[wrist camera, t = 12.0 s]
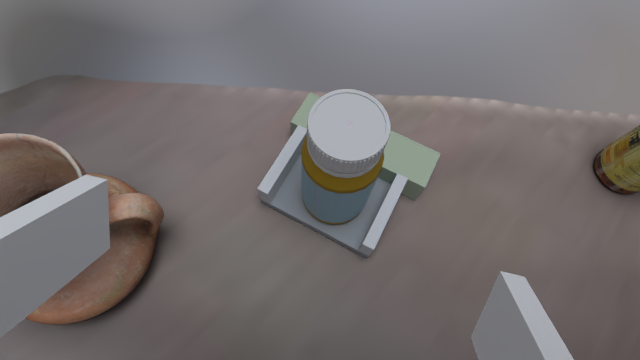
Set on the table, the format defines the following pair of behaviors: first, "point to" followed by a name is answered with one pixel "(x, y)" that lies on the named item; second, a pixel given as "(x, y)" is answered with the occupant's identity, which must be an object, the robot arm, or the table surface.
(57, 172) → the ceramic jug
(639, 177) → the sauce bottle
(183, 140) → the table surface
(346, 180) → the bottle
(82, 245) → the robot arm
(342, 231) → the green-backed grey tray
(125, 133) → the table surface
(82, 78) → the table surface
